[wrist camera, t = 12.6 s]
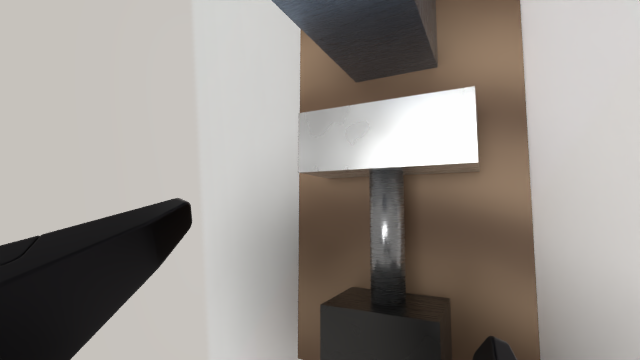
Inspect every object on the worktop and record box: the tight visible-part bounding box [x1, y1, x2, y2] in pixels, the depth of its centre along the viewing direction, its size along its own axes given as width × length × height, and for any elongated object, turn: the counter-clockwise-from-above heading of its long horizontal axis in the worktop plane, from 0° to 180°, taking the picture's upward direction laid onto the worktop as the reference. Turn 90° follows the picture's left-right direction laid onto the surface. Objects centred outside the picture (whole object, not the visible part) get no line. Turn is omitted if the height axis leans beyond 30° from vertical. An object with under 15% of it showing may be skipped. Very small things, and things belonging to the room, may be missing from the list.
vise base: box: [298, 0, 540, 360], centre depth 17 cm, size 28×12×4 cm, turn 0°
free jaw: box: [298, 86, 480, 360], centre depth 15 cm, size 12×8×4 cm, turn 0°
